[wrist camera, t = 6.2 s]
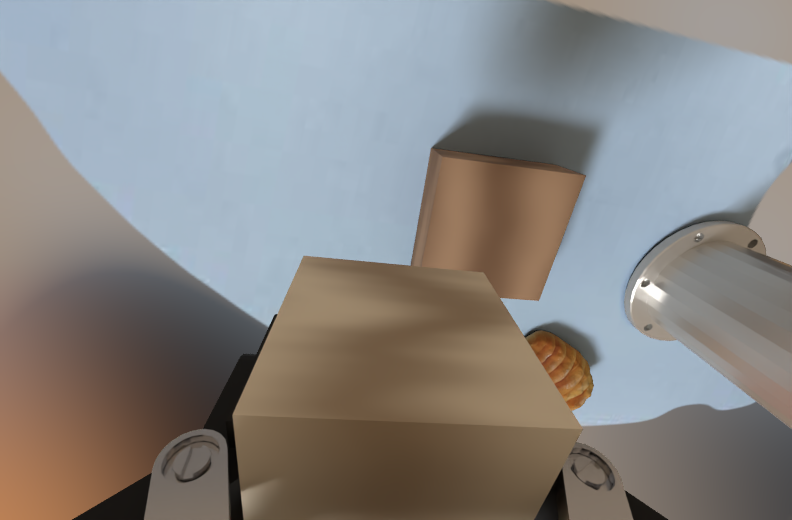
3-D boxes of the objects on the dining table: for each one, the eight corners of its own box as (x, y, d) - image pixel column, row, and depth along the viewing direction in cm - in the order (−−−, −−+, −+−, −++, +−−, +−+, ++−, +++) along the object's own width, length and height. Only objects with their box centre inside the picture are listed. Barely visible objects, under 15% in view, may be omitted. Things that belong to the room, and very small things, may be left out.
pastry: (495, 349, 34) (509, 377, 31) (552, 313, 33) (574, 338, 30) (535, 397, 38) (552, 427, 35) (589, 366, 37) (612, 394, 33)
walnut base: (555, 164, 26) (585, 175, 23) (518, 276, 30) (538, 300, 27) (431, 148, 25) (442, 156, 21) (410, 267, 29) (416, 291, 25)
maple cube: (483, 272, 11) (583, 429, 6) (448, 399, 14) (496, 590, 9) (303, 255, 11) (232, 414, 5) (301, 392, 13) (251, 594, 8)
